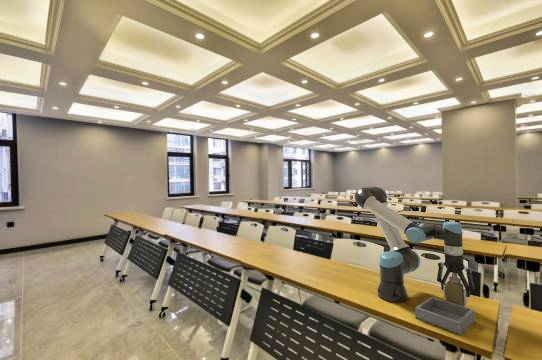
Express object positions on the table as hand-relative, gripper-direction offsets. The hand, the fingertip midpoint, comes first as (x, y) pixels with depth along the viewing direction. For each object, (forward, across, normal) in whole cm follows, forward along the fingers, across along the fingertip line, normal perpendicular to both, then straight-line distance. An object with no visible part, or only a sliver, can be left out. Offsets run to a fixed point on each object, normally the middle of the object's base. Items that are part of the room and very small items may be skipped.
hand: (455, 299), depth 126 cm
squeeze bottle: (+4, 0, 0) cm, 4 cm away
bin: (+4, +1, -16) cm, 17 cm away
